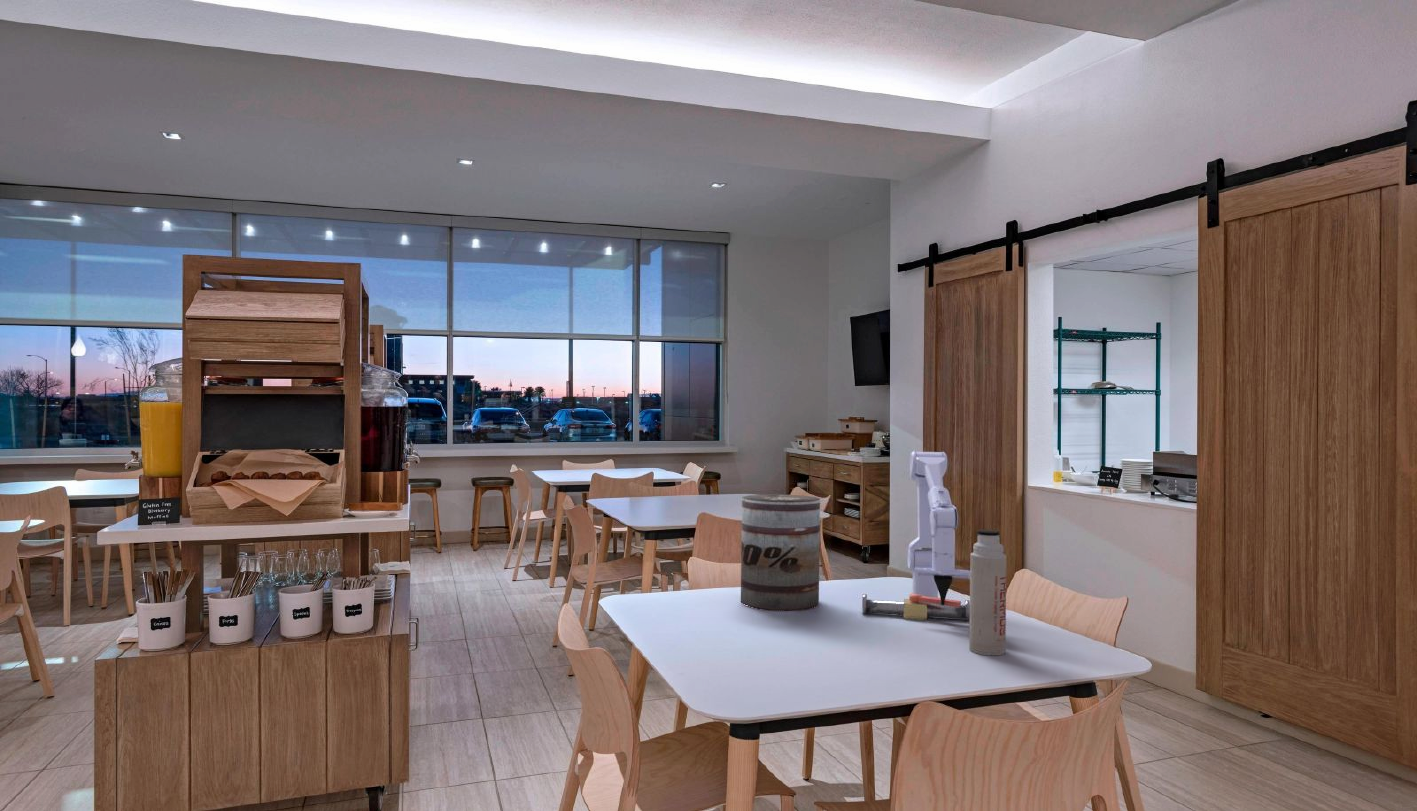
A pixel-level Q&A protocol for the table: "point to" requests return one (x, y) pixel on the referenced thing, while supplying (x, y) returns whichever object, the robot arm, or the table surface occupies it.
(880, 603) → the pipe and valve
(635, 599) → the table surface
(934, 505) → the robot arm
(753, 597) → the barrel
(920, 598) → the lever
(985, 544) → the thermos bottle
